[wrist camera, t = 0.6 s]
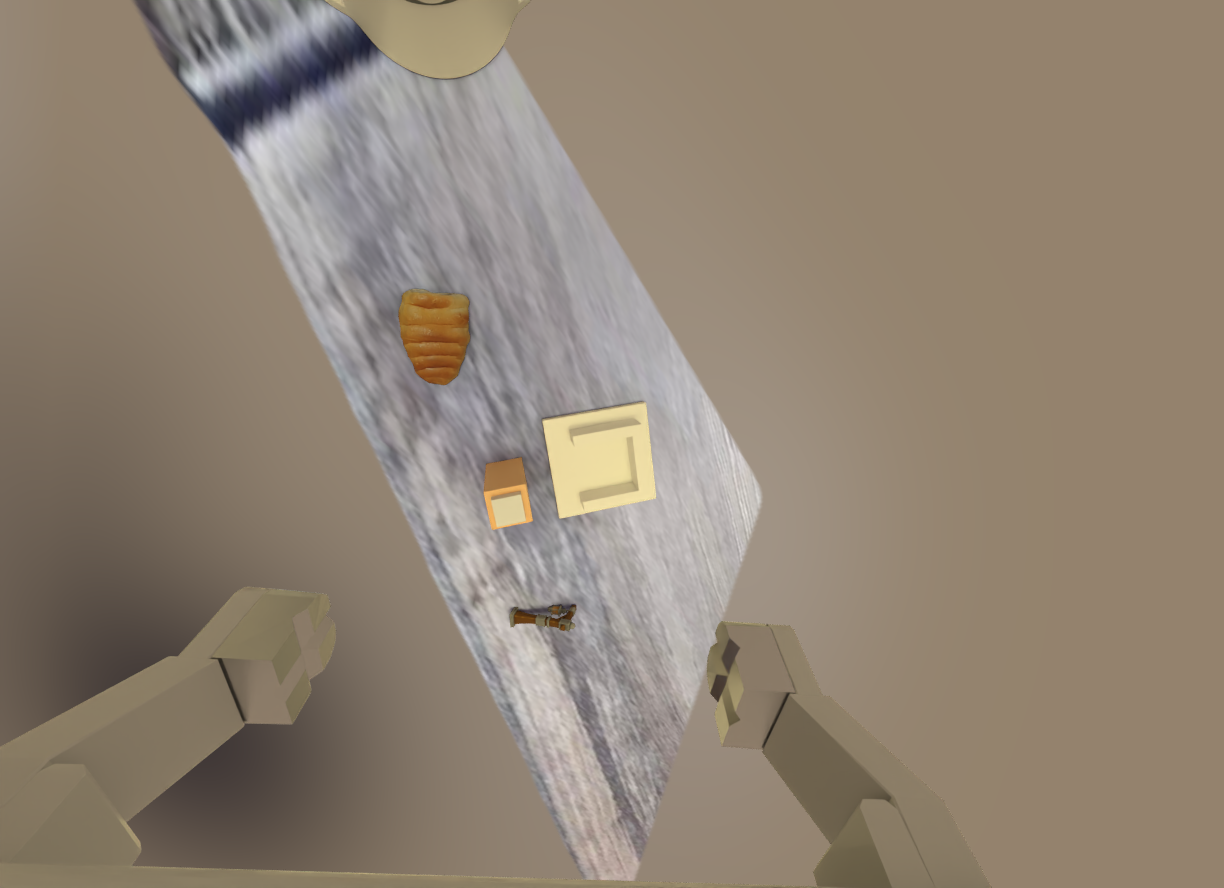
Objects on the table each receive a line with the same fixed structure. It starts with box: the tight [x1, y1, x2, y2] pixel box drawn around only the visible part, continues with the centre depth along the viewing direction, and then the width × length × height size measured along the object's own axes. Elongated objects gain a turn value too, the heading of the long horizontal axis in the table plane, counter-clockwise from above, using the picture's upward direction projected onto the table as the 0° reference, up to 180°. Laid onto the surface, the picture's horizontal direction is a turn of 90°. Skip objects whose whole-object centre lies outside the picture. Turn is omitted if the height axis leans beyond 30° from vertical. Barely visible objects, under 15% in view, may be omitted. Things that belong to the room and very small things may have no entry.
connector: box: [484, 457, 533, 530], centre depth 50 cm, size 4×4×10 cm
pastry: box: [398, 289, 470, 385], centre depth 48 cm, size 9×7×4 cm
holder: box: [542, 401, 656, 518], centre depth 55 cm, size 12×12×4 cm
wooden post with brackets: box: [510, 605, 576, 631], centre depth 59 cm, size 2×8×4 cm, turn 90°
